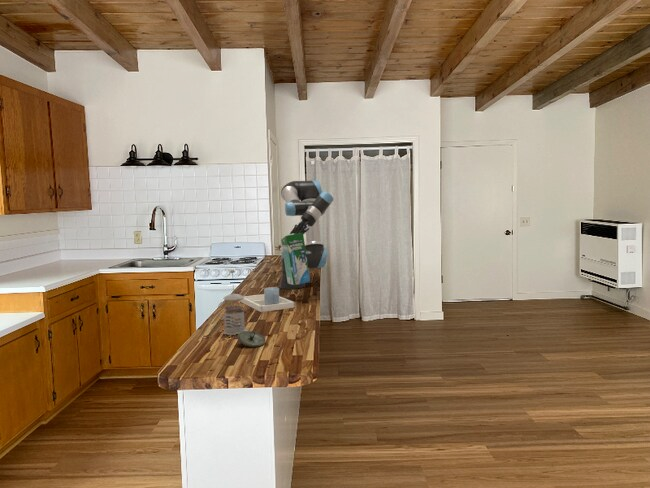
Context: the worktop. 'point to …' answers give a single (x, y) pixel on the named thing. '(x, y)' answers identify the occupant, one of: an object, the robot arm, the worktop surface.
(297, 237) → the milk carton
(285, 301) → the tray
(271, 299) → the mug
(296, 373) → the worktop surface
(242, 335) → the lid
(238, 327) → the french press
